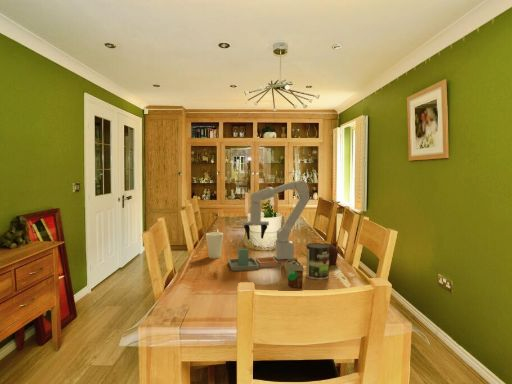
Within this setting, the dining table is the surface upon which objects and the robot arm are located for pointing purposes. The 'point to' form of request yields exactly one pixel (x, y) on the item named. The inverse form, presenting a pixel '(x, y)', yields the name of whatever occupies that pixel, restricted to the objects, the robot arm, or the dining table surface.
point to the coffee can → (317, 261)
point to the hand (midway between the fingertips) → (255, 238)
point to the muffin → (332, 254)
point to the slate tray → (251, 266)
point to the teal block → (242, 256)
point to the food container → (294, 273)
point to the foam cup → (214, 244)
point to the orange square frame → (267, 262)
